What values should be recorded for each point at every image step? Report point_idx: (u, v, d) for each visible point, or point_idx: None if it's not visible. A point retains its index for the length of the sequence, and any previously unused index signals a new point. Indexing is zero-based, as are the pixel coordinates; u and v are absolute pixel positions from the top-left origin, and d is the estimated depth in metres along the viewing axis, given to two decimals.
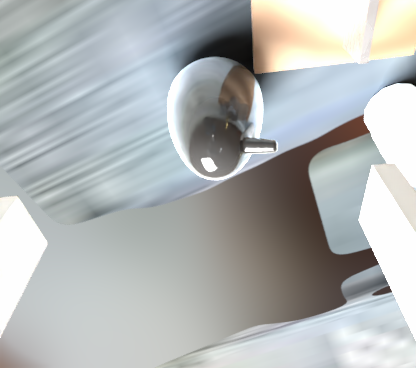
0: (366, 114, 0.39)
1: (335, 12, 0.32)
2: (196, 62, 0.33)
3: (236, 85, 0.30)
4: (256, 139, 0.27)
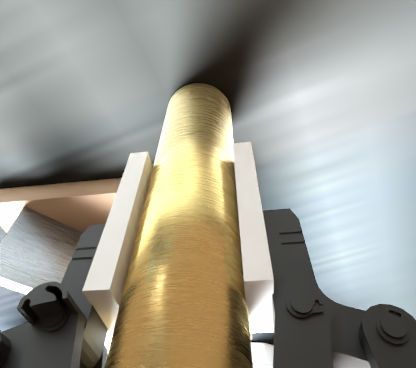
0: None
1: None
2: None
3: None
4: None
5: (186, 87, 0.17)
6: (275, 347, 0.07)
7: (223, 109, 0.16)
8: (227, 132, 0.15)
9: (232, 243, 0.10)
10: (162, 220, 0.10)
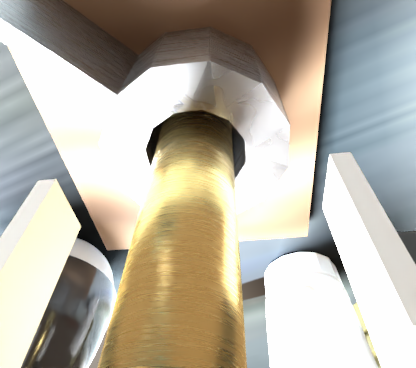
0: (265, 281, 0.31)
1: None
2: None
3: None
4: None
5: None
6: None
7: None
8: (225, 124, 0.16)
9: (228, 224, 0.10)
10: (162, 201, 0.10)
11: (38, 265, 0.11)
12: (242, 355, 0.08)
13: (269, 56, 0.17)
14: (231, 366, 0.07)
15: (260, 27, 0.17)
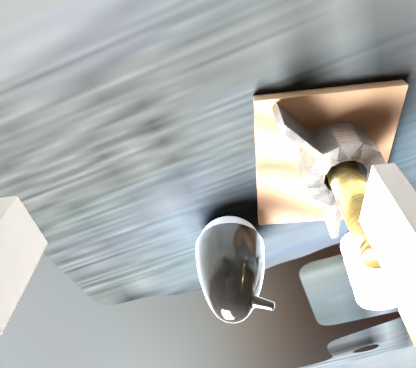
0: (341, 245, 0.53)
1: None
2: (217, 227, 0.46)
3: (246, 254, 0.43)
4: (260, 300, 0.41)
5: None
6: None
7: None
8: (357, 164, 0.37)
9: None
10: (358, 196, 0.32)
11: None
12: None
13: (370, 132, 0.39)
14: None
15: (369, 121, 0.38)
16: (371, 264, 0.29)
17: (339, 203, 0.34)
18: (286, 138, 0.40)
